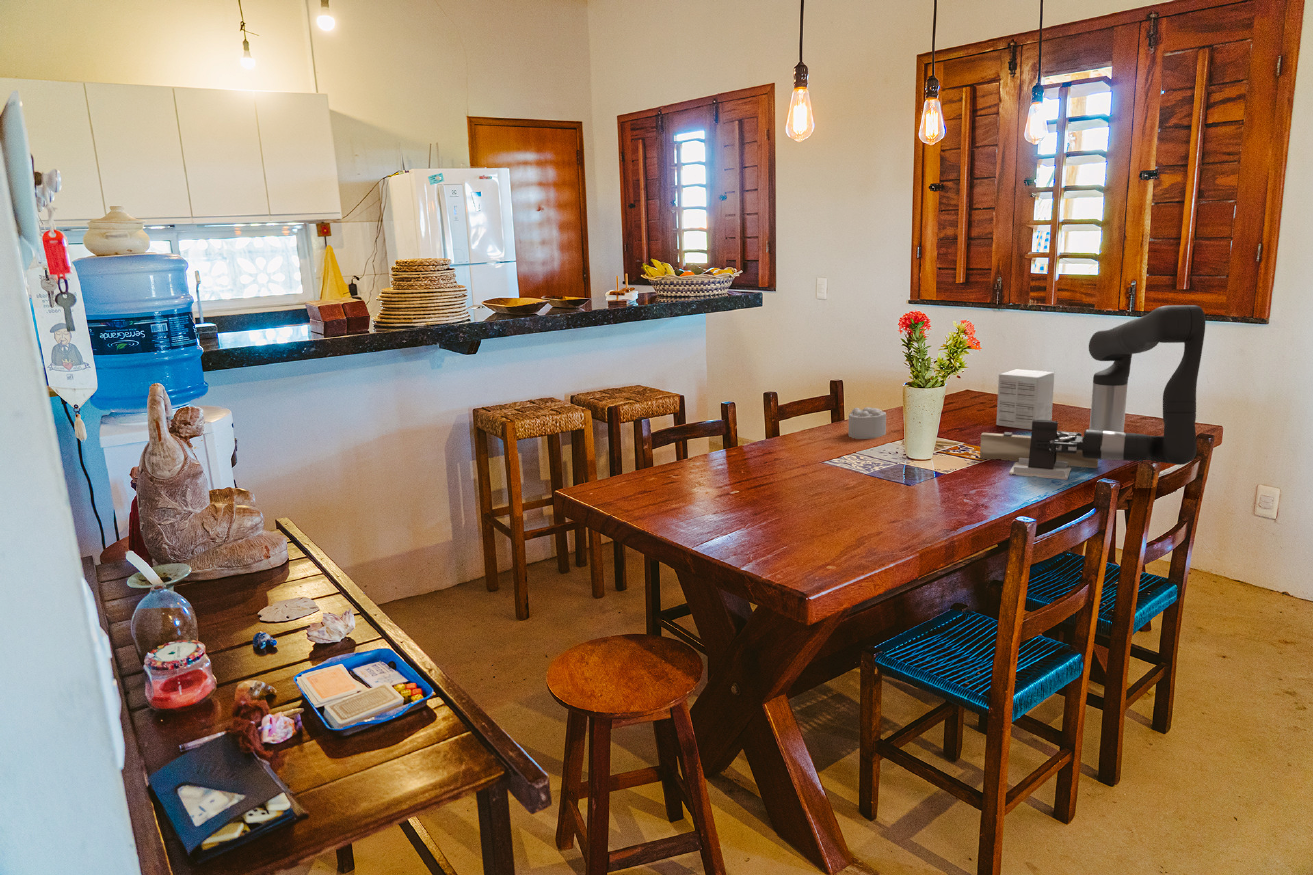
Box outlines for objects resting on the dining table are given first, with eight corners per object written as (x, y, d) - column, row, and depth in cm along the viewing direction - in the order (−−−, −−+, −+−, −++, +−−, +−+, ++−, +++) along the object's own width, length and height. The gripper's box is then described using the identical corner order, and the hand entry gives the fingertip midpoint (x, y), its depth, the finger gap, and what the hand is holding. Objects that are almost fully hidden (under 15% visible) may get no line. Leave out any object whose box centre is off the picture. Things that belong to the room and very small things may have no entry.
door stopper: (1032, 459, 227) (1035, 416, 224) (1056, 461, 224) (1059, 418, 221) (1027, 467, 219) (1030, 423, 216) (1052, 469, 216) (1055, 425, 213)
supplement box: (1013, 418, 285) (1015, 368, 281) (1052, 423, 276) (1055, 371, 272) (995, 425, 277) (997, 373, 273) (1034, 430, 267) (1038, 377, 263)
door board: (981, 455, 240) (982, 430, 238) (1097, 465, 225) (1099, 438, 223) (979, 458, 238) (981, 432, 236) (1097, 468, 223) (1099, 441, 221)
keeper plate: (1015, 464, 230) (1015, 456, 230) (1071, 469, 223) (1071, 461, 222) (1009, 474, 221) (1009, 466, 221) (1067, 479, 214) (1067, 471, 213)
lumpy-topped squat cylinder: (890, 433, 273) (890, 407, 271) (867, 441, 264) (868, 414, 262) (863, 429, 280) (863, 404, 278) (840, 436, 272) (840, 410, 270)
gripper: (1107, 425, 218) (1039, 420, 226) (1103, 436, 206) (1032, 431, 214) (1104, 452, 219) (1038, 447, 228) (1101, 465, 208) (1031, 459, 216)
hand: (1035, 439), depth 221 cm, fingers open, 8 cm apart
